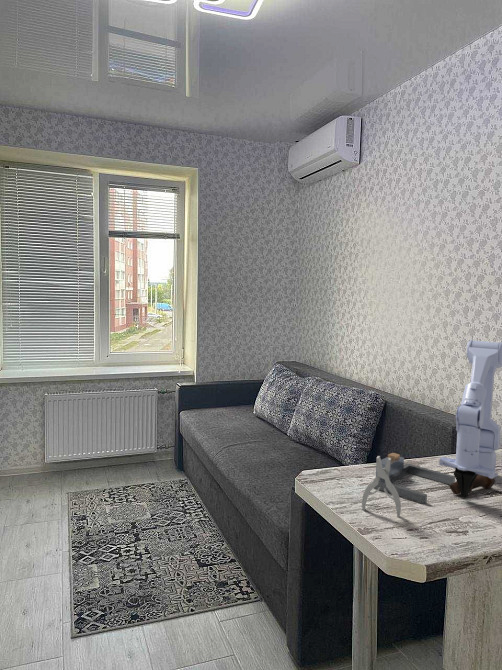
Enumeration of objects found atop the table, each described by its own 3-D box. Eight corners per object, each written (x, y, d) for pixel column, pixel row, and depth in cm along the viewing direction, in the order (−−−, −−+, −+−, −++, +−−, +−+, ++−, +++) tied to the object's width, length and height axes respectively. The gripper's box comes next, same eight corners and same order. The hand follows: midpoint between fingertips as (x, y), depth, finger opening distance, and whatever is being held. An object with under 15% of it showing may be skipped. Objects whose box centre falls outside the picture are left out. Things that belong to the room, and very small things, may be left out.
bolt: (464, 489, 143) (498, 478, 150) (451, 475, 146) (485, 465, 154) (455, 502, 146) (488, 491, 153) (442, 488, 149) (476, 478, 157)
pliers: (400, 516, 132) (404, 459, 131) (399, 518, 131) (403, 461, 129) (362, 508, 136) (365, 453, 135) (361, 510, 135) (364, 455, 134)
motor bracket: (399, 468, 167) (400, 447, 166) (454, 484, 155) (456, 461, 154) (365, 485, 152) (367, 462, 151) (424, 504, 140) (425, 479, 139)
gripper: (435, 445, 143) (433, 492, 144) (490, 458, 133) (486, 508, 135) (446, 440, 148) (443, 485, 150) (499, 452, 138) (495, 501, 140)
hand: (464, 496), depth 142 cm, fingers closed
